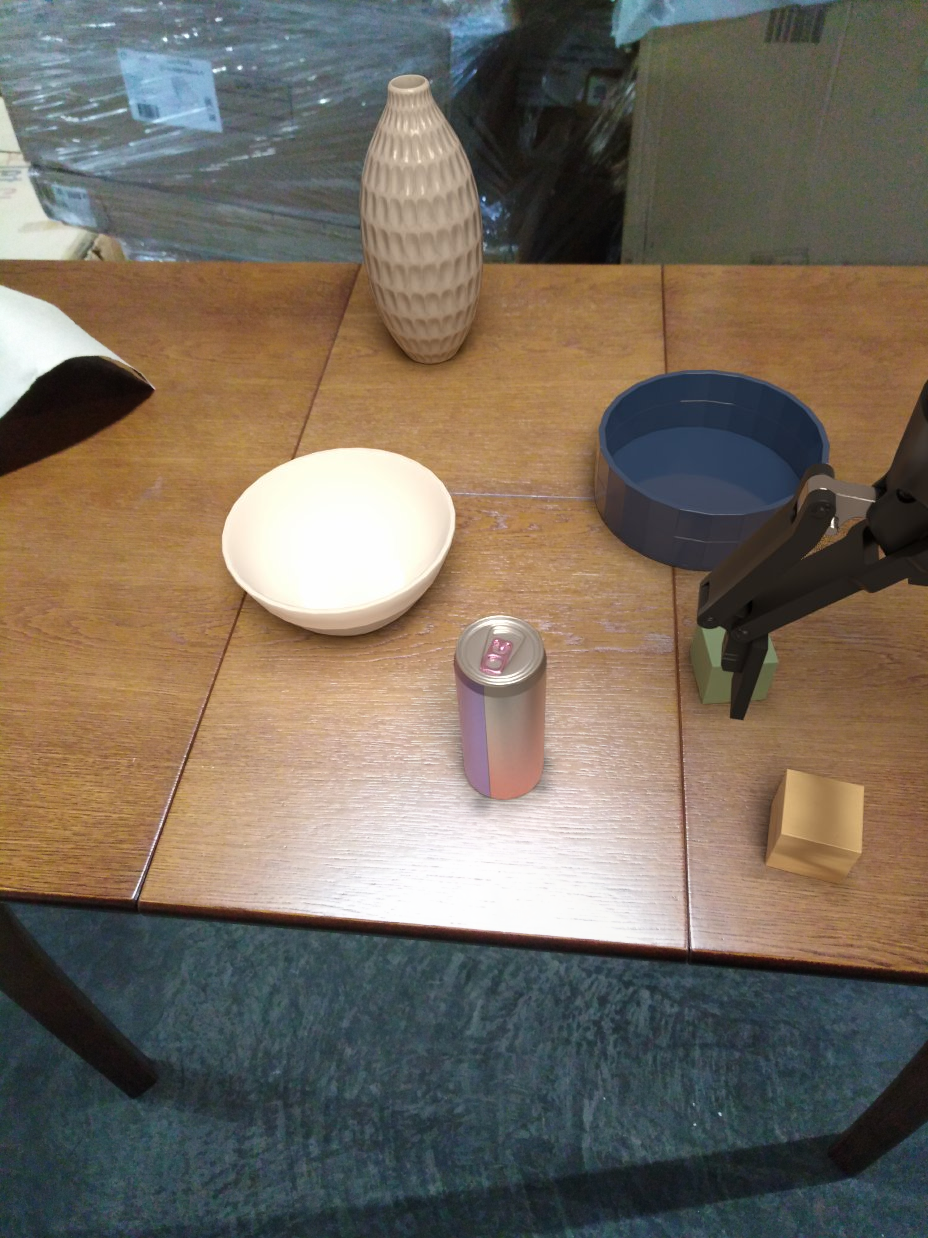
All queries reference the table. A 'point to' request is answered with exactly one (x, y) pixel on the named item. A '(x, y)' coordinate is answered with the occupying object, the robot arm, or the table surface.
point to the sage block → (709, 670)
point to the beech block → (815, 826)
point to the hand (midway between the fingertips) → (864, 719)
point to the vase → (421, 225)
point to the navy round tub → (701, 463)
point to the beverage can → (501, 704)
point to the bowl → (340, 539)
